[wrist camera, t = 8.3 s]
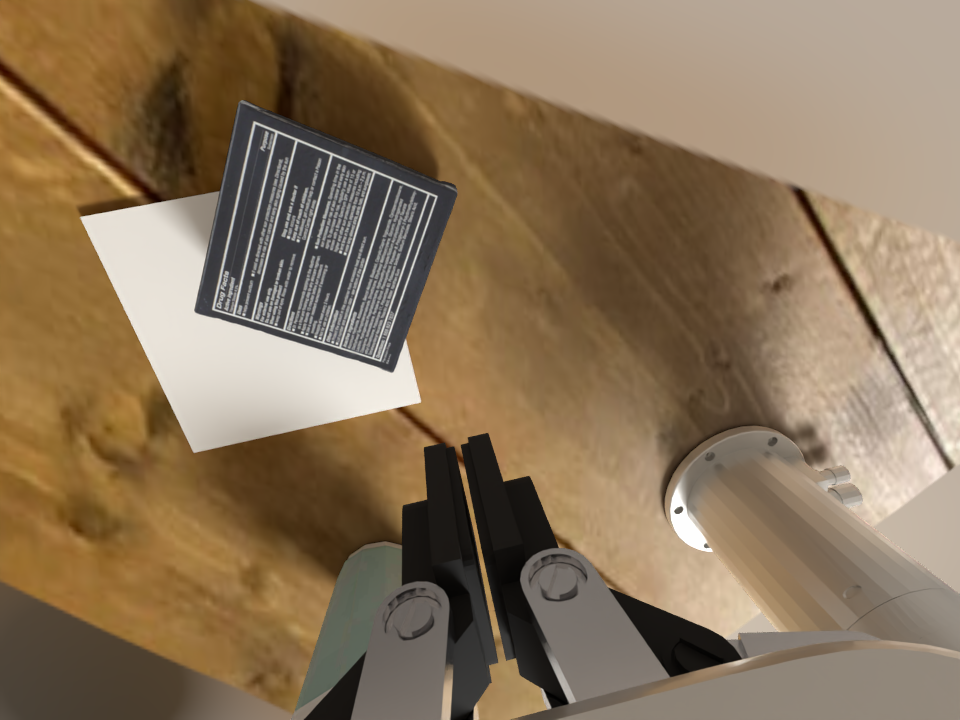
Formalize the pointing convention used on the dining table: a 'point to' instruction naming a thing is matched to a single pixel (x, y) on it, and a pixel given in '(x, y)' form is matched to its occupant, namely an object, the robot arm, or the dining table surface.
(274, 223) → the small box
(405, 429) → the dining table surface
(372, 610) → the disposable coffee cup
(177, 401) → the white mat
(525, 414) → the dining table surface
